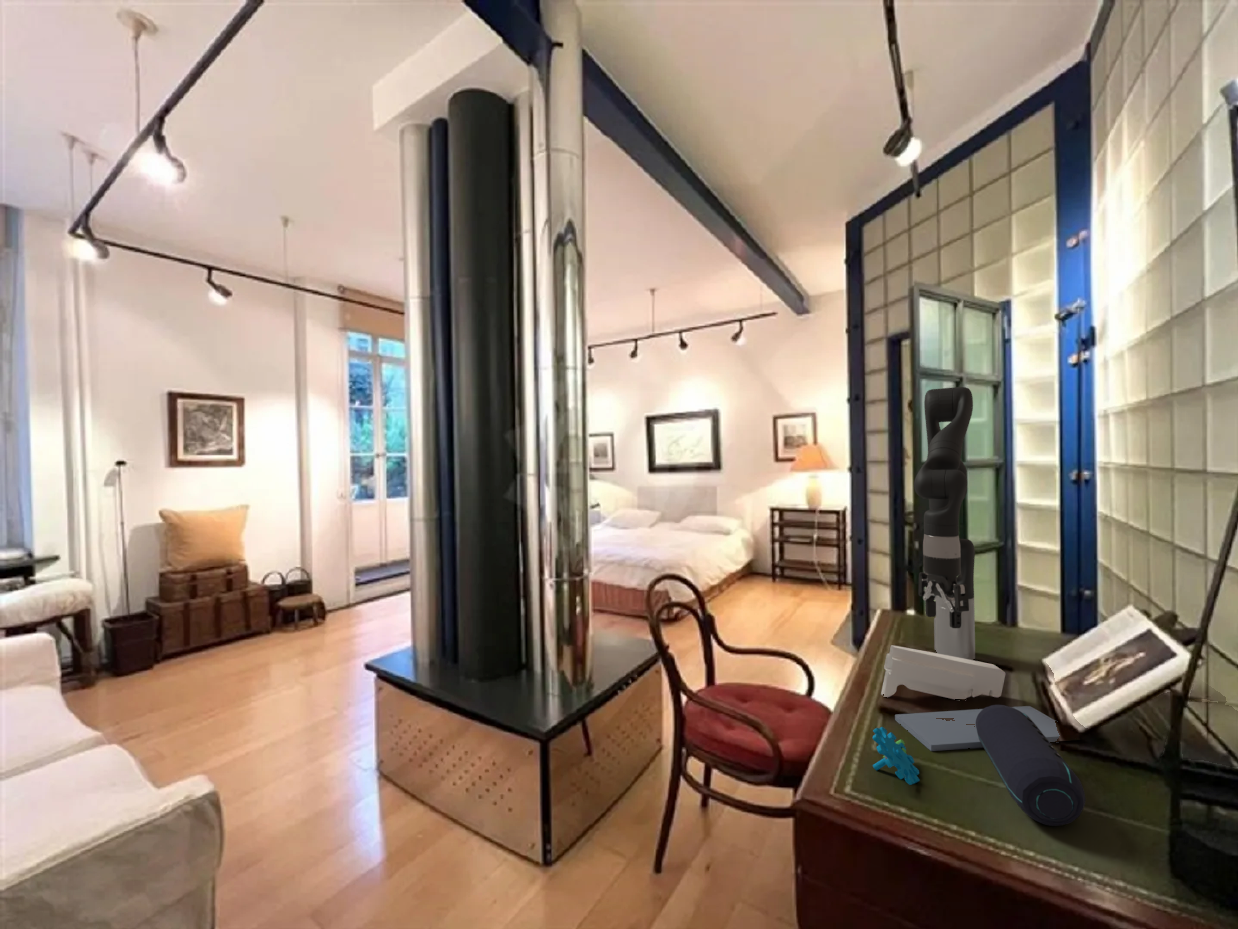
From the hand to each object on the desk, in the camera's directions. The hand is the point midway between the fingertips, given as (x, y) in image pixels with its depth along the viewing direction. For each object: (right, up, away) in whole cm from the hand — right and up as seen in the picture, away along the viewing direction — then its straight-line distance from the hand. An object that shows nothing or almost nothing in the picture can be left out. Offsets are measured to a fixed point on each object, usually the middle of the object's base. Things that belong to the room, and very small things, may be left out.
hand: (942, 621), depth 124 cm
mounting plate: (0, -18, -15) cm, 23 cm away
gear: (-26, -20, -28) cm, 43 cm away
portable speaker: (-6, -19, -33) cm, 38 cm away
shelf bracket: (0, -18, 0) cm, 18 cm away
